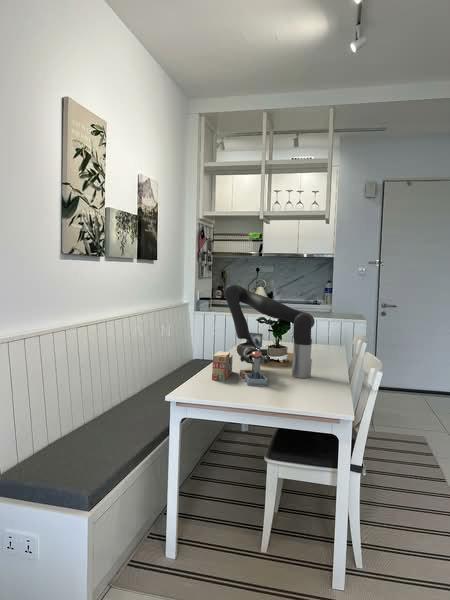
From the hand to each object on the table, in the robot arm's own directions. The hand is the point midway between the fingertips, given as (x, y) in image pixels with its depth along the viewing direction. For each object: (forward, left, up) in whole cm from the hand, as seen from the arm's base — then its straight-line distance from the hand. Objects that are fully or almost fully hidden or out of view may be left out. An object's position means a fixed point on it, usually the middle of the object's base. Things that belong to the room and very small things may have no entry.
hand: (257, 361), depth 227 cm
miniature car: (-19, -58, -12) cm, 62 cm away
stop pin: (0, -2, -10) cm, 10 cm away
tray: (0, -2, -11) cm, 11 cm away
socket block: (+1, -12, -11) cm, 17 cm away
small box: (-16, -95, -11) cm, 97 cm away
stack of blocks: (+15, -16, -11) cm, 24 cm away
